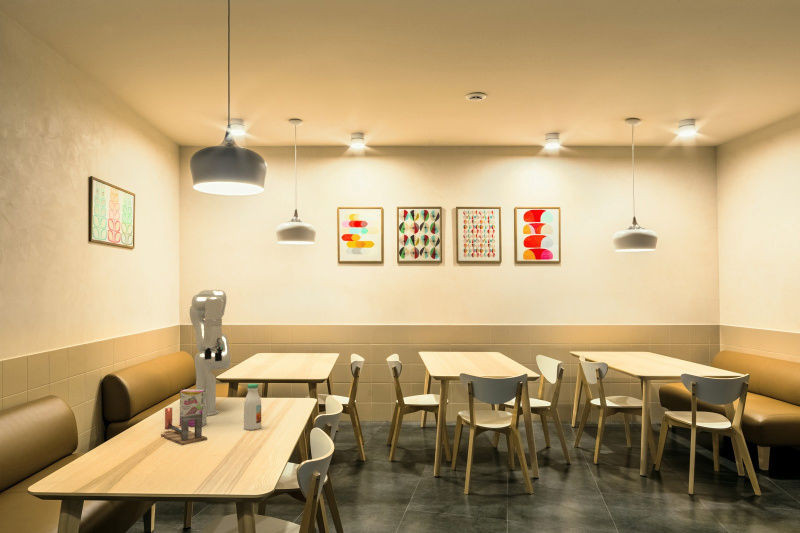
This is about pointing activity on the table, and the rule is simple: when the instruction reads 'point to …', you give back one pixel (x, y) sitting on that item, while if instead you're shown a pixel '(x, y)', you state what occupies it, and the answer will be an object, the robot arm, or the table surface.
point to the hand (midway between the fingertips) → (213, 360)
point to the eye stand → (187, 431)
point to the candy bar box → (193, 404)
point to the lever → (170, 421)
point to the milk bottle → (252, 408)
